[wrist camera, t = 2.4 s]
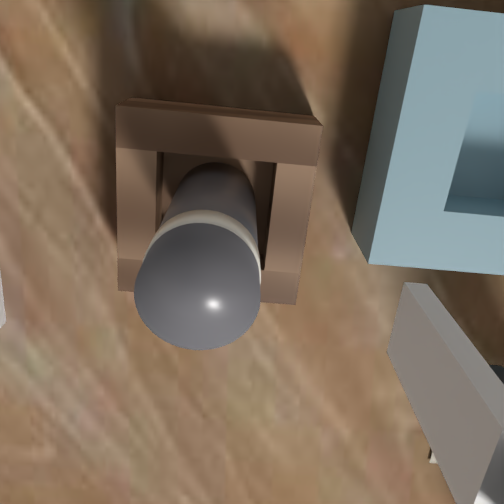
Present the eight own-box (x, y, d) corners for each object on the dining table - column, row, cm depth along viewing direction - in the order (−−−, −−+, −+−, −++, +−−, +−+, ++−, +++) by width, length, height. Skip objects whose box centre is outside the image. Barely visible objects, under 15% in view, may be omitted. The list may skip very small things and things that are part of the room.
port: (394, 10, 22) (429, 3, 18) (623, 36, 23) (710, 35, 18) (351, 232, 26) (370, 269, 22) (543, 249, 27) (598, 288, 23)
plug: (176, 157, 23) (132, 231, 14) (260, 165, 24) (268, 243, 14) (174, 234, 25) (132, 346, 16) (252, 241, 25) (255, 355, 16)
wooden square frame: (131, 97, 23) (115, 105, 20) (313, 115, 24) (323, 126, 21) (131, 263, 27) (117, 290, 24) (290, 276, 27) (295, 304, 25)
